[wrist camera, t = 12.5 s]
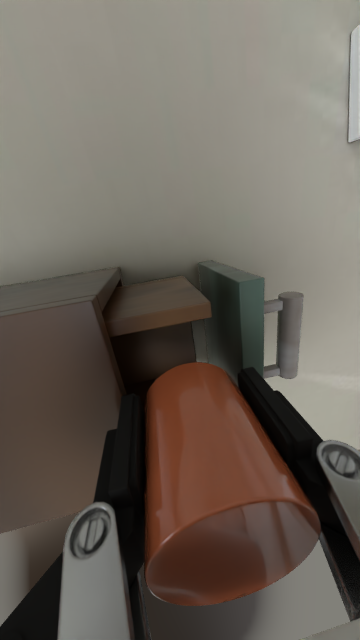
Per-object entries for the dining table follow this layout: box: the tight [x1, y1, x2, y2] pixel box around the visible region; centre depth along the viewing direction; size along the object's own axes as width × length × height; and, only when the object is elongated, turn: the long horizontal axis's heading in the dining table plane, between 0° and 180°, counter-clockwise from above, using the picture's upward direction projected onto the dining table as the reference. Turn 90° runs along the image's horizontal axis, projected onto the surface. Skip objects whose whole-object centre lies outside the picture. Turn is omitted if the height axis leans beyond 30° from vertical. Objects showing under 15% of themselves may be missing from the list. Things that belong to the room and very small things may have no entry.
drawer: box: [101, 260, 304, 410], centre depth 15 cm, size 17×10×8 cm, turn 98°
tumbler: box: [144, 362, 321, 606], centre depth 8 cm, size 5×5×6 cm
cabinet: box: [0, 267, 127, 534], centre depth 14 cm, size 14×12×10 cm
